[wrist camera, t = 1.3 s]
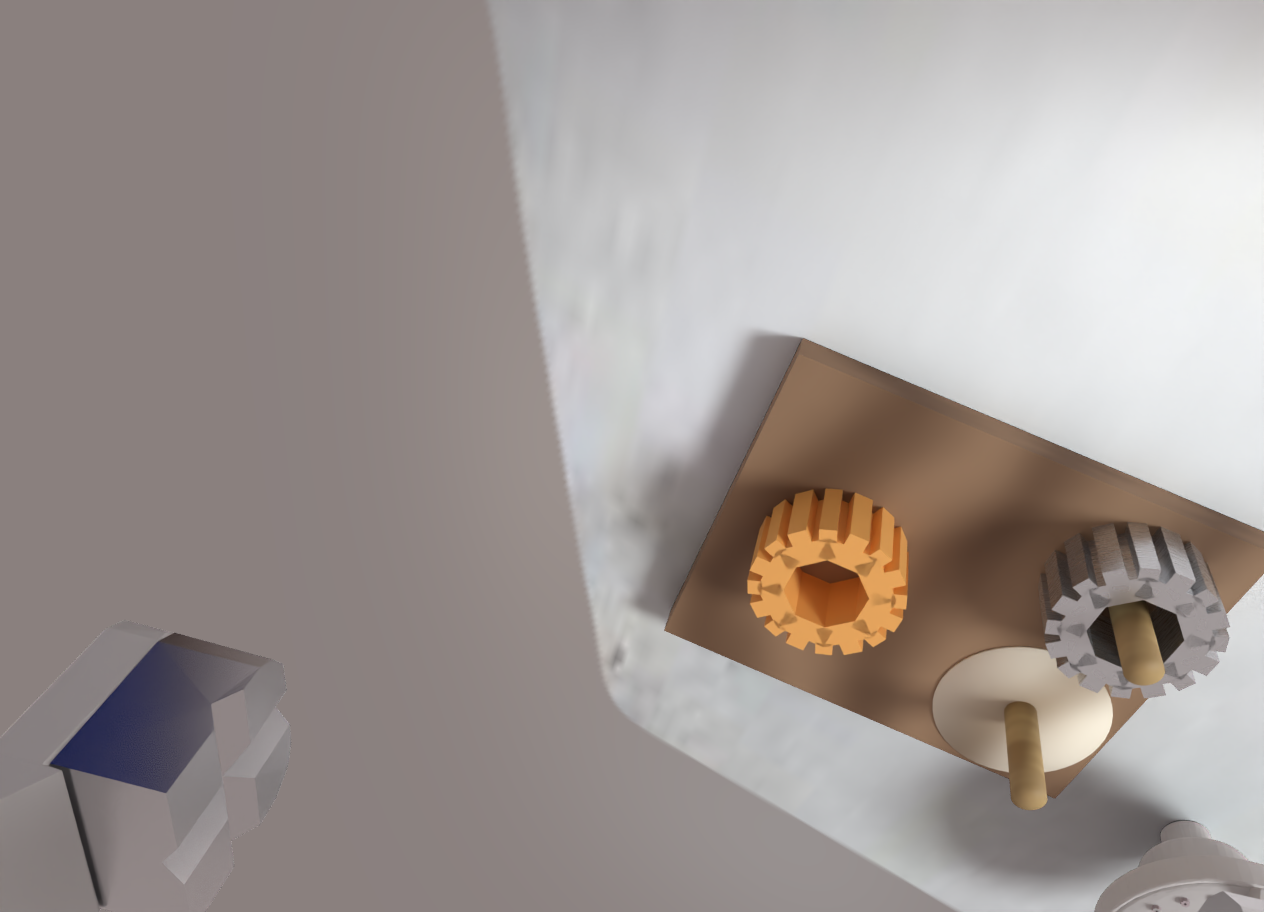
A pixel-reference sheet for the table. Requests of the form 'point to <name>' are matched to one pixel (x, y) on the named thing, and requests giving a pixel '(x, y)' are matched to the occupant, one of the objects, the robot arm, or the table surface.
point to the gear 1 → (818, 604)
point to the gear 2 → (1126, 575)
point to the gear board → (947, 569)
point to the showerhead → (1183, 874)
